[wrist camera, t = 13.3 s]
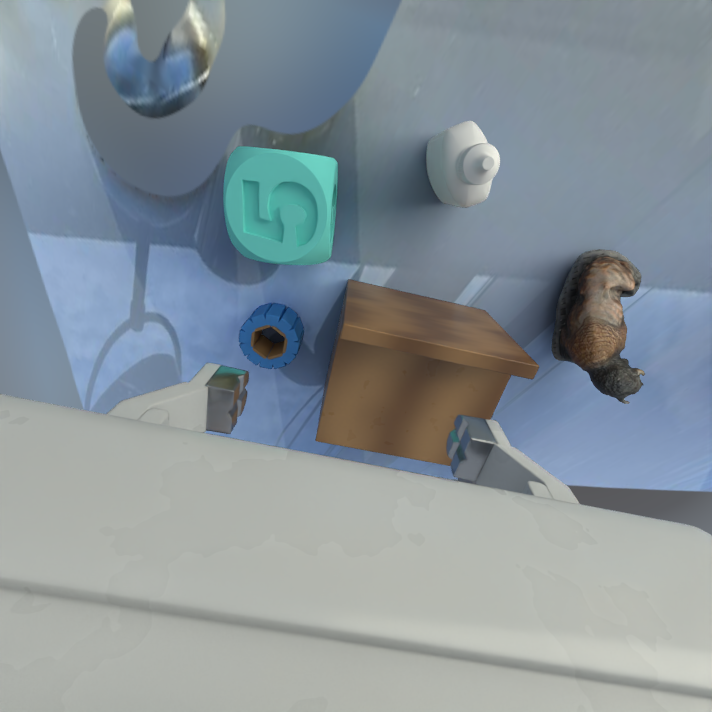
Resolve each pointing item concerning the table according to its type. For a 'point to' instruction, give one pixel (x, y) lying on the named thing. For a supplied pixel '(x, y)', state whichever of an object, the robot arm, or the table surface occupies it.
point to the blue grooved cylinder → (261, 346)
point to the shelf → (412, 372)
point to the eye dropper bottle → (461, 165)
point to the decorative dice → (281, 205)
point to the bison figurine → (598, 321)
